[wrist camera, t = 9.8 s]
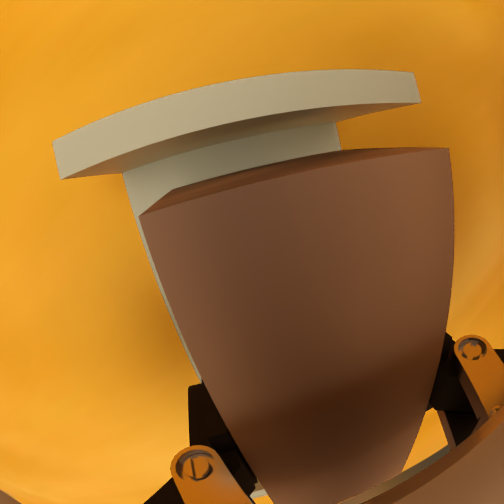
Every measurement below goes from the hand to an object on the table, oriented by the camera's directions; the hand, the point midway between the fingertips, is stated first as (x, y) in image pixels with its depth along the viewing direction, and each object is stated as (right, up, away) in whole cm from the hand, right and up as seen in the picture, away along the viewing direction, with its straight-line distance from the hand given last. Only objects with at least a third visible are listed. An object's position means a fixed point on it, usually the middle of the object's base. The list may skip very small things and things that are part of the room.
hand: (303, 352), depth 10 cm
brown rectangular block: (0, 0, +1) cm, 1 cm away
